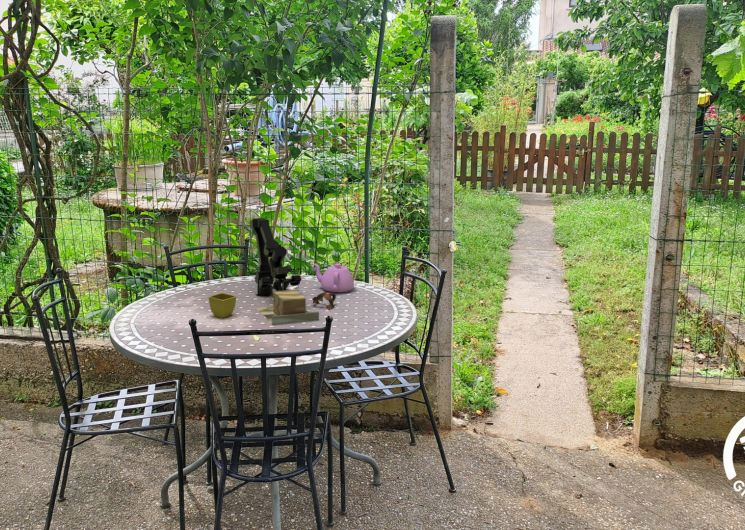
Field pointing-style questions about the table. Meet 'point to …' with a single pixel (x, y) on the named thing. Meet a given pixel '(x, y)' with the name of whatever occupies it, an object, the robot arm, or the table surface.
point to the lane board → (287, 316)
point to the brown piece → (326, 296)
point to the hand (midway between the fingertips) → (284, 297)
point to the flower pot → (222, 304)
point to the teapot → (335, 278)
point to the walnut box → (288, 302)
